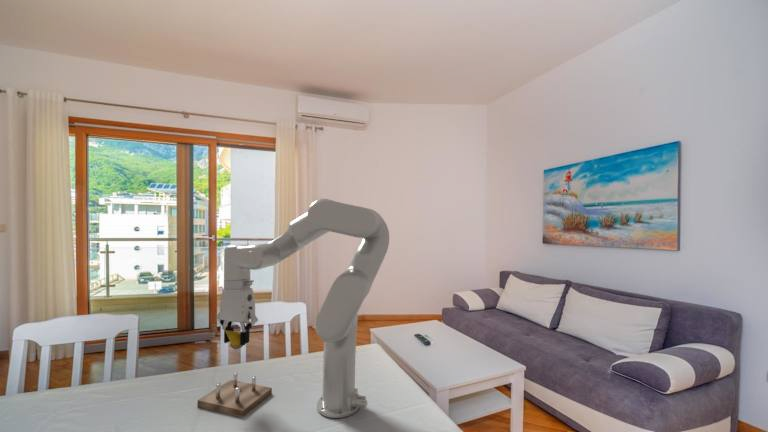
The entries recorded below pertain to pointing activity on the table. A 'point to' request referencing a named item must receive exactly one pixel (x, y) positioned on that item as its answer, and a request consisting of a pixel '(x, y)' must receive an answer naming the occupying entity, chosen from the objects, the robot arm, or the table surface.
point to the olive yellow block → (234, 339)
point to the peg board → (235, 397)
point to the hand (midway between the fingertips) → (236, 342)
